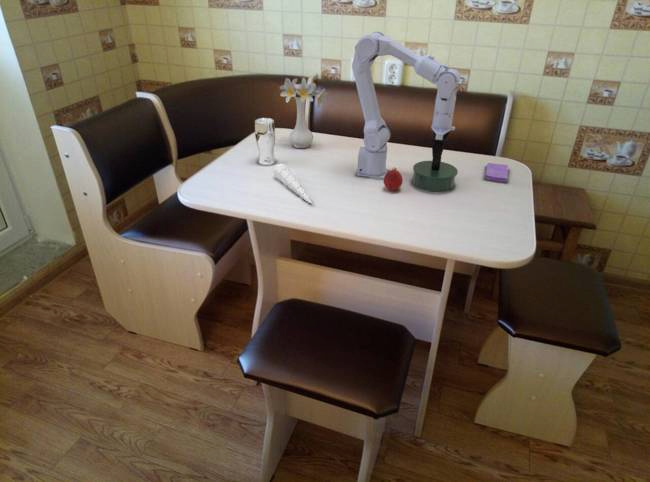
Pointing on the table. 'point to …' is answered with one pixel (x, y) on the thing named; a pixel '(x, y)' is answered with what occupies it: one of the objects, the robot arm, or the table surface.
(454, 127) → the robot arm
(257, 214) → the table surface
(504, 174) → the sponge
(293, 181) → the unicorn horn
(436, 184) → the pot
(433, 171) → the lid
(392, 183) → the onion
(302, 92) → the flower vase
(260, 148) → the beer glass
